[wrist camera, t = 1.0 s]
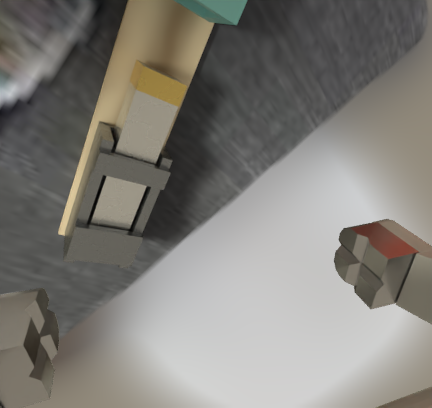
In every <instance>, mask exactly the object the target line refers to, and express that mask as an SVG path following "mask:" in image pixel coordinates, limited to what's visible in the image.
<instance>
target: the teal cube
mask: <svg viewBox="0 0 432 408" xmlns="http://www.w3.org/2000/svg"><path fill="white" fill-rule="evenodd" d="M174 1H175V2H177V3H179V4H180V5H182V6H183V7H185V8H187V9H188V10H190V11H192V12H193V13H195V14H197V15H198V16H200V17H202V18H203V19H205V20H207V21H208V22H212V23H221V24H229V25H237V24H238V21H239V19H240V17H241V14H242V12H243V10H244V7H245V5H246V3H247V0H174Z"/></svg>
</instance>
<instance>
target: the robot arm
mask: <svg viewBox="0 0 432 408" xmlns="http://www.w3.org/2000/svg"><path fill="white" fill-rule="evenodd" d="M339 241H340V243H341V246H340V247H339V248H338V250H337V251H336V253H335V258H334V263H335V267H336V270H337V272H338V274H339V276H340V277H341V278H342V279H343V280H344V281H345V282H347V283H349V284H351V285H353V286H354V289H355V293H356V294H357V295H358V296H359V297H360V298H361V299H362V301H364V303H365V304H366V305H367V306H368V307H369V308H370V309H374V308H378V307H382V306H386V305H390V304H394V303H396V305H398V306H399V307H401V308H403V309H405V310H407V311H408V312H410V313H412V314H414V315H416V316H418V317H419V318H421V319H423V320H425V321H427V322H428V323H430V324H432V246H431V245H429V244H427V243H426V242H425V241H423V240H422V239H420V238H419V237H417V236H416V235H414V234H413V233H411V232H410V231H408V230H407V229H405V228H404V227H402V226H401V225H399V224H398V223H396V222H395V221H393V220H389V219H385V220H380V221H376V222H372V223H368V224H363V225H359V226H353V227H348V228H344V229H343V230H342V231H341V233H340V236H339ZM48 303H49V298H48V295H47V293H46V291H45V289H43V288H36V289H30V290H25V291H19V292H13V293H8V294H2V295H0V408H22V407H25V406H29V405H32V404H35V403H38V402H42V401H45V400H48V399H50V396H51V389H52V384H53V378H54V371H55V370H54V367H53V365H52V363H51V360H52V359H53V357H54V356H55V355H56V354H57V353H58V346H59V327H58V322H57V318H56V316H55V313H54V312H52V311H50V310H48V309H47V308H48ZM376 408H432V387H429V388H427V389H424V390H421V391H418V392H416V393H413V394H410V395H408V396H405V397H403V398H400V399H397V400H395V401H392V402H389V403H387V404H384V405H381V406H379V407H376Z"/></svg>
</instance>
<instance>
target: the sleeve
mask: <svg viewBox="0 0 432 408" xmlns="http://www.w3.org/2000/svg"><path fill="white" fill-rule="evenodd" d="M114 128H115V126H113V125H110V124H107V123H104V122H101V121H99V124H98V127H97V130H96V133H95V136H94V140H93V143H92V146H91V149H90V153H89V156H88V159H87V162H86V165H85V169H84V172H83V175H82V178H81V182H80V185H79V188H78V191H77V195H76V198H75V201H74V204H73V207H72V211H71V214H70V217H69V220H68V224H67V227H66V230H65V240H64V257H63V262H71V263H74V260H78V261H87V262H96V263H105V264H115V265H119V268H128V266H132V263H133V261H134V259H135V256H136V254H137V252H138V249H139V247H140V245H141V242H142V240H143V235H142V233H143V230H144V228H145V225H146V223H147V221H148V218H149V216H150V214H151V211H152V209H153V206H154V204H155V202H156V199H157V197H158V194H159V192H160V190H164V188H165V186H166V183H167V181H168V179H169V176H170V174H171V172H170V170H169V168H170V166H171V164H172V161H173V160H172V159H171V157H170V155H169V154H168V152H167V150H166V149H165V147H164V145H163V147H162V149H161V152H160V154H159V157H158V159H157V162H156V164H155V165H152V164H149V163H145V162H142V161H138V160H135V159H132V158H128V157H125V156H121V155H118V154H114V153H111V150H112V147H113V144H114V140H113V137H112V134H113V131H114ZM103 175H105V176H109V177H113V178H117V179H121V180H125V181H129V182H133V183H137V184H141V185H145V186H147V187H146V189H145V192H144V194H143V197H142V199H141V202H140V204H139V207H138V209H137V212H136V214H135V217H134V219H133V222H132V224H131V227H130V229H129V231H125V230H119V229H113V228H107V227H101V226H95V225H89V224H87V221H88V218H89V215H90V212H91V209H92V206H93V203H94V200H95V198H96V195H97V192H98V189H99V186H100V183H101V180H102V177H103Z"/></svg>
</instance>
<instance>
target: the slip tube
mask: <svg viewBox="0 0 432 408" xmlns="http://www.w3.org/2000/svg"><path fill="white" fill-rule="evenodd" d="M186 88H187V85H185V84H184V83H183V82H181V81H180V80H178V79H177V78H176V77H173V76H171V75H169V74H167V73H165V72H163V71H160V70H158V69H156V68H154V67H152V66H150V65H147V64H145V63H143V62H141V61H139V60H137V59H136V62H135V65H134V68H133V71H132V74H131V77H130V82H129V86H128V89H127V92H126V95H125V98H124V101H123V104H122V107H121V110H120V113H119V116H118V119H117V122H116V125H115V128H114V131H113V134H112V137H113V140H114V144H113V147H112V150H111V153H114V154H118V155H121V156H125V157H128V158H132V159H135V160H138V161H142V162H145V163H149V164H152V165H155V164H156V162H157V159H158V157H159V154H160V152H161V149H162V147H163V144H164V142H165V139H166V137H167V134H168V132H169V129H170V127H171V124H172V122H173V119H174V117H175V114H176V112H177V109H178V107H179V106H180V103H181V101H182V98H183V96H184V93H185V91H186ZM146 187H147V186H145V185H141V184H137V183H133V182H129V181H125V180H121V179H117V178H113V177H109V176H105V175H103V177H102V180H101V183H100V186H99V189H98V192H97V195H96V198H95V200H94V203H93V206H92V209H91V212H90V215H89V218H88V221H87V224H89V225H95V226H101V227H107V228H113V229H119V230H125V231H129V229H130V227H131V224H132V222H133V219H134V217H135V214H136V212H137V209H138V207H139V204H140V202H141V199H142V197H143V194H144V192H145V189H146Z"/></svg>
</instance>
